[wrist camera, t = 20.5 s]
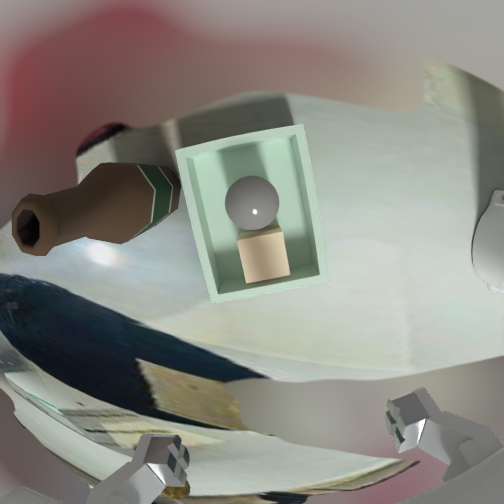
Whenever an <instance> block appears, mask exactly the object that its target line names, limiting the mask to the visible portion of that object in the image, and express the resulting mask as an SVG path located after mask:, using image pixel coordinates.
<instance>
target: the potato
mask: <svg viewBox="0 0 504 504" xmlns="http://www.w3.org/2000/svg"><path fill="white" fill-rule="evenodd" d="M161 493H162V494H163V495H165V496H166V497H169V498H171V499H182V498H185V497H187V496H188V495H189V493H190V485H189V483H188V481H187V480H186V483H185V487H172V486H165V489H164V490H163V491H162V492H161Z"/></svg>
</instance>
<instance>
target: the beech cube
mask: <svg viewBox="0 0 504 504" xmlns="http://www.w3.org/2000/svg"><path fill="white" fill-rule="evenodd" d="M237 244H238V249H239V253H240V258H241V262H242V267H243V271H244V276H245V280H246V283H252V282H257V281H262V280H267V279H273V278H278V277H283V276H288V275H290V270H289V265H288V259H287V253H286V247H285V242H284V236H283V231H282V229H281V228H280V226H279V224H275V225H270V226H265V227H263V228H261V229H257V230H245V231H240V232H239V233H238V237H237Z"/></svg>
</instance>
